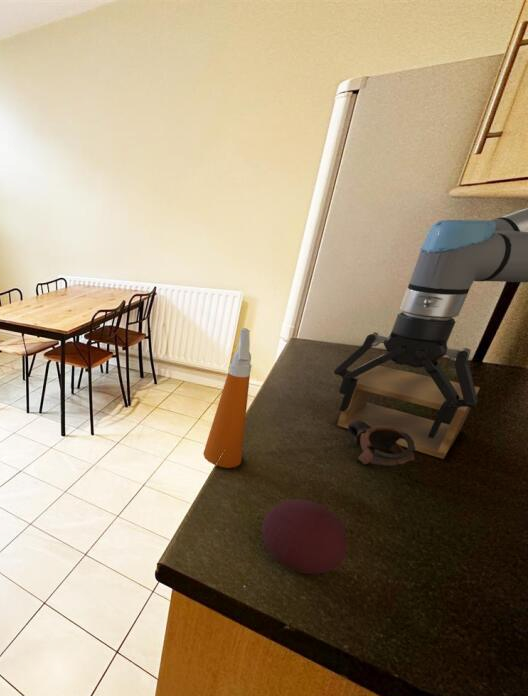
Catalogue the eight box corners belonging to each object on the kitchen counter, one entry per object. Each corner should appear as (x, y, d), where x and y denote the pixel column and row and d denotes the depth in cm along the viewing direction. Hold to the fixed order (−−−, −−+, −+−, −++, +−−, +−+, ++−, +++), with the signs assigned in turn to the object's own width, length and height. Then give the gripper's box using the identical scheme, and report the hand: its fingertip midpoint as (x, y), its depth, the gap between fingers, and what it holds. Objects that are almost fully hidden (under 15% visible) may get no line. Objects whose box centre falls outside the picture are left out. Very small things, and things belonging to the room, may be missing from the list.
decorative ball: (283, 593, 56) (301, 537, 52) (242, 538, 65) (255, 486, 61) (354, 588, 56) (378, 532, 52) (304, 534, 65) (321, 482, 61)
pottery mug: (419, 464, 82) (434, 442, 76) (380, 490, 81) (393, 470, 75) (359, 424, 90) (368, 402, 84) (324, 448, 90) (331, 427, 84)
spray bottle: (239, 444, 89) (265, 326, 79) (241, 471, 80) (271, 343, 70) (204, 437, 92) (224, 323, 82) (202, 464, 83) (225, 339, 73)
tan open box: (459, 432, 91) (480, 387, 86) (443, 459, 82) (466, 410, 78) (359, 404, 104) (373, 364, 100) (336, 425, 95) (351, 382, 91)
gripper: (335, 306, 79) (305, 404, 88) (533, 335, 61) (472, 456, 69) (348, 300, 83) (319, 395, 92) (538, 325, 65) (479, 440, 73)
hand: (385, 421), depth 81 cm, fingers open, 13 cm apart
